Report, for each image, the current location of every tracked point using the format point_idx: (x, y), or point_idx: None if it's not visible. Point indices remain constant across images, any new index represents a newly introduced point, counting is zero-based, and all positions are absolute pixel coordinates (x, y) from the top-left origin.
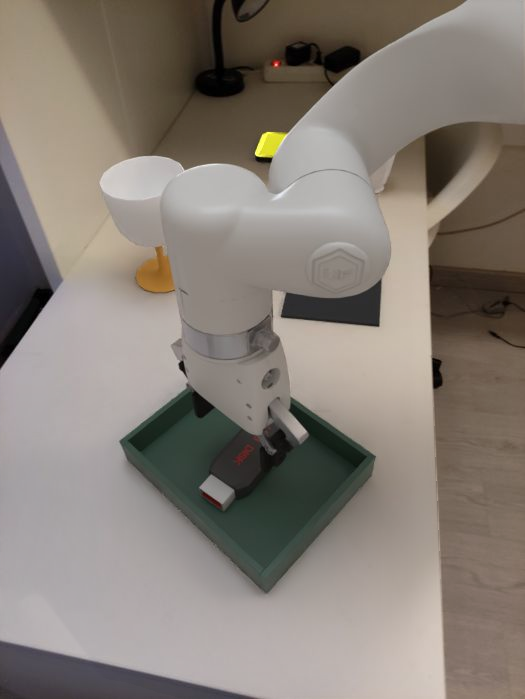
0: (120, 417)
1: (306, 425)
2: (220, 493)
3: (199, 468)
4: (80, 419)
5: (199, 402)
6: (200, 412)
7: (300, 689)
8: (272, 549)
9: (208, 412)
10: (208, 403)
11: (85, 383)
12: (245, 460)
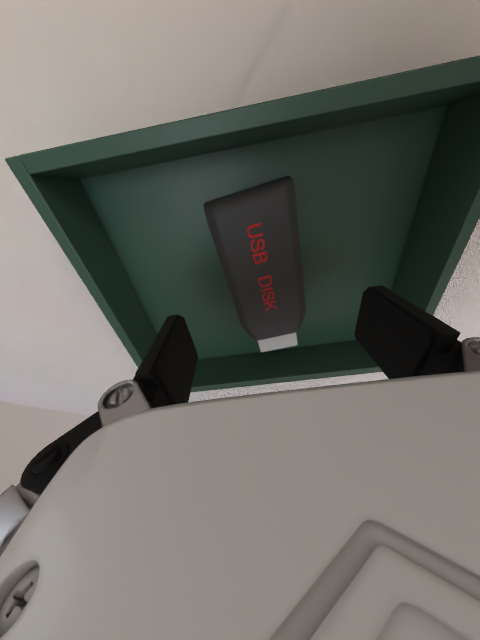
0: (107, 350)
1: (294, 131)
2: (285, 340)
3: (227, 323)
4: (95, 376)
5: (187, 395)
6: (194, 369)
7: None
8: None
9: (192, 342)
10: (185, 357)
11: (36, 357)
12: (277, 297)
